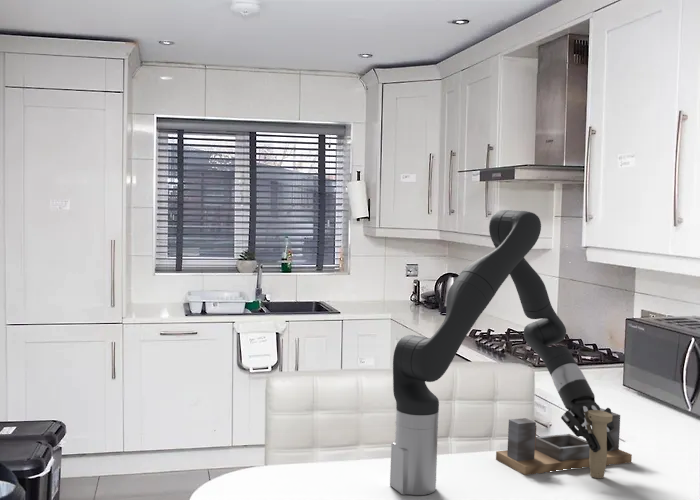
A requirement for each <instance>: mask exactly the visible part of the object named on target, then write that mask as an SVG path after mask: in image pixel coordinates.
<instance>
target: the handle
mask: <svg viewBox="0 0 700 500" xmlns="http://www.w3.org/2000/svg"><path fill="white" fill-rule="evenodd" d="M612 417H613V416H612V414H610V413H608V412H605V411H601V410H588V418H589V419H590V420H591V421H592V426H591V429H592V434H594V435H595V437H596V439H597V441H598V443H599V445H600V447H601V449H600V450H599V451H598V452H593V450H591V449H590V452H589V464H590V467H589V469H590V471H589V475H590V477H591V476H592V477H591V478H595V479H603V478H604V477H605V472H606V467H607V465H606V461H607V424H608V423H610V422H612Z"/></svg>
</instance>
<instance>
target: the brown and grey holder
mask: <svg viewBox="0 0 700 500" xmlns="http://www.w3.org/2000/svg"><path fill="white" fill-rule="evenodd" d="M611 413H612V416H613V417H612V418H613V424H614V429H613V430H612V431H611V432H610V433H609V434H610V436H611V438H612V440H613V441H614V444H615V445H614V446H615V447H614V448H613V449H612V450H611V451H607V461H606V466H610V465H609V464H614V465H621V464H627V463H628V464H630V463H632V459H633V457H632V456H633V455H632V454H631V453H630V452H626V451H625V450H622V449H620V448H619V447H620V432H621V431H620V429H621V428H620V427H621V414H619V413H616V412H614V411H611ZM536 423H537V422H536V421H534V420H531V419H529V418H526V417H523V418H521V417H520V418H511V419H508V429H507V430H508V431H507V433H508V434H507V450H498V451H497V450H496V452H495V460H496V461H499V462H500V463H502V464H503V465H505V466H507V467H509V468H511V469H513V470H515V471H517V472H518V473H520V474H522V475H524V476H529V475H537V474H536V473H538V474H545V473H544V472H547V473H551V472H550V471H555V472H557V471H556V470H563V469H571V468H581V469H583V468H582V467H589V468H590V464H589V452H590V447H589V445H588V443H587V441H586V439H584V438H583V439H582V438H580V437H577V436H576V435H573V434H570V433H564V434H554V435H544V436H542V435H541V436H537V424H536Z"/></svg>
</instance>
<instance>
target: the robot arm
mask: <svg viewBox="0 0 700 500" xmlns="http://www.w3.org/2000/svg"><path fill="white" fill-rule="evenodd" d="M488 229H489V230H488V232H489V236H490V239H491V241H492V243H493V246H494V248H495V249H493V250H492V251H490V252H489V253H487V254H485V255H482V257H479V258H478V259H476V260H474V261H473V262H471V263H470V264H469V265H467V266H466V267H465V268H464V269H463V270H462V271H461V272H460V273H459V275H458V276H457V277H456V278H455V280H454V282H453V283H452V284H451V286H450V287H449V289H448V291H447V295H446V302H445V303H446V304H445V305H446V306H445V308H446V309H445V310H446V311H445V312H446V313H445V318H444V320H443V322H442V323H441V325H440V326H439V327H438V330H436V331H435V333H434V334H433V335H432V336H430V337H425V336H420V335H413V334H408V335H404V336H403V337H401V338H400V339H399V340H398V341H397V343H396V346H395V348H394V350H393V357H392V389H393V390H392V391H393V397H394V400H395V406H396V409H395V411H396V412H395V431H394V432H395V433H394V434H395V436H394V437H395V438H394V442H391V446H390V473H389V474H390V475H389V476H390V477H389V486H390V487H392V489H394V490H395V491H397V492H398V493H400V494H401V495H412V496H424V495H430V494H432V493H434V492H435V491H436V490H437V489H436V488H437V465H438V464H437V463H438V461H437V460H438V439H439V436H438V435H439V411H440V400H439V398H438V397H437V395H435V393H433V392H432V391H431V390H430V389H429V388H428V386H427V383H431V382H432V383H433V382H436V381H439V380H440V379H441V378H442V377H443V375H445V373H447V370H448V369H449V367H450V366H451V364H452V362H453V360H454V358H455V356H456V354H457V352H458V351H459V349H460V347H461V345H462V344H463V342H464V341H465V338H466V337H467V335H468V334H469V332H470V331H471V329H472V328H473V326H474V324H475V323H476V322H477V320H478V319H479V318H480V316H481V315H482V313H483V312H484V311H485V309H486V308H487V306H488V305H489V304H490V303H491V301H492V300H493V299H494V296H496V294H497V292H498V290H499V289H500V288H501V286H502V285H503V283H504V282H505V281H506V280H507V278H508V277H509V276H510V278H511V280H512V282H513V284H514V287H515V290H516V292H517V295H518V297H519V300H520V305H521V307H522V309H523V313H524V316H525V317H526V318H528V319H530V320H536V321H532V322H530V323H528V324H526V326H524V328H523V338H524V340H525V342H526V343H527V344H528V346H529V347H530V349H532V350H533V352H534V353H536V354H537V355H538V357H539V359H541V360H542V362H543V363H544V365H545V367H546V369H547V371H548V373H549V376H550V377H551V379H552V383H553V385H554V387H555V389H556V391H557V393H558V395H559V397H560V400H561V401H562V403H563V406H564V407H565V409H566V411H565V412H564V414H563V415H561V417H560V418H561V420H562V421H563V423H564V424H565V425H566V426H567V427H568V428H569V429H570V430H571V432H572V433H573V434H574V436H576V437H578V438H580V437H582V438H583V439H584V440H585V441H587V443H588V445H589V447H590V449H591V450H593V452H598V451H599V450H600V449H601V447H600V445H599V443H598V441H597V439H596V437H595V435H594V434H592V421H591V420H590V419H589V418H588V410H601V411H605V412H608V413H610V414H612V413H611V412H612V410H611V408H610V407H606V408H602V407H600V405H599V404H598V403H597V402H596V398H595V397H596V396H595V394H594V391H593V389H592V388H591V386H590V384H589V383H588V381H587V378H586V377H585V375H584V373H583V371H582V370H581V368H580V367H579V365H578V364H577V362H576V360H575V358H574V356H573V354H572V352H571V351H570V349H569V348H568V347H566V346H561V345H560V346H553V345H555V344H557V343H559V342H562V341H563V340H564V339H565V338H566V336H567V329H566V326H565V324H564V322H563V321H562V319H561V318H560V317H559V316H558V315H557V313H556V311H555V309H554V307H553V306H552V303H551V301H550V298H549V294H548V291H547V288H546V285H545V282H544V280H543V279H542V278H541V276H540V275H539V274H538V272H537V271H536V270H535V269H534V268H533V267H532V265H531V264H530V263H529V262H528V261H527V259H526V258H525V257H526V256H527V254H528V253H529V252H531V250H532V249H533V248H534V246H535V245H536V243H537V242H538V239H539V237H540V235H541V231H542V222H541V219H540V217H539V216H538V215H537V214H536V213H534V212H531V211H528V210H527V211H526V210H513V209H512V210H509V209H508V210H507V209H504V210H503V209H501V210H498V211H496V212H494V214H493V215H492V216H491V218H490V221H489V224H488ZM426 382H427V383H426ZM613 429H614V424H613V418H612V422H610V423H608V424H607V451H611V450H612V449H613V448H614V447H615V446H614V445H615V444H614V441H613V440H612V438H611V436H610V434H609V433H610V432H611V431H612V430H613Z"/></svg>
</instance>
